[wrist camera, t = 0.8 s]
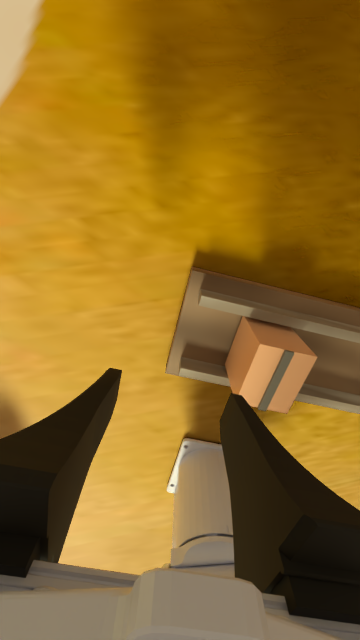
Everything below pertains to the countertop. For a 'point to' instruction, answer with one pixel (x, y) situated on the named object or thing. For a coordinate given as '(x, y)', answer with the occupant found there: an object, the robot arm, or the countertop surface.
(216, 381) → the fader board
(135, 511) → the countertop surface
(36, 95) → the countertop surface
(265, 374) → the fader knob
